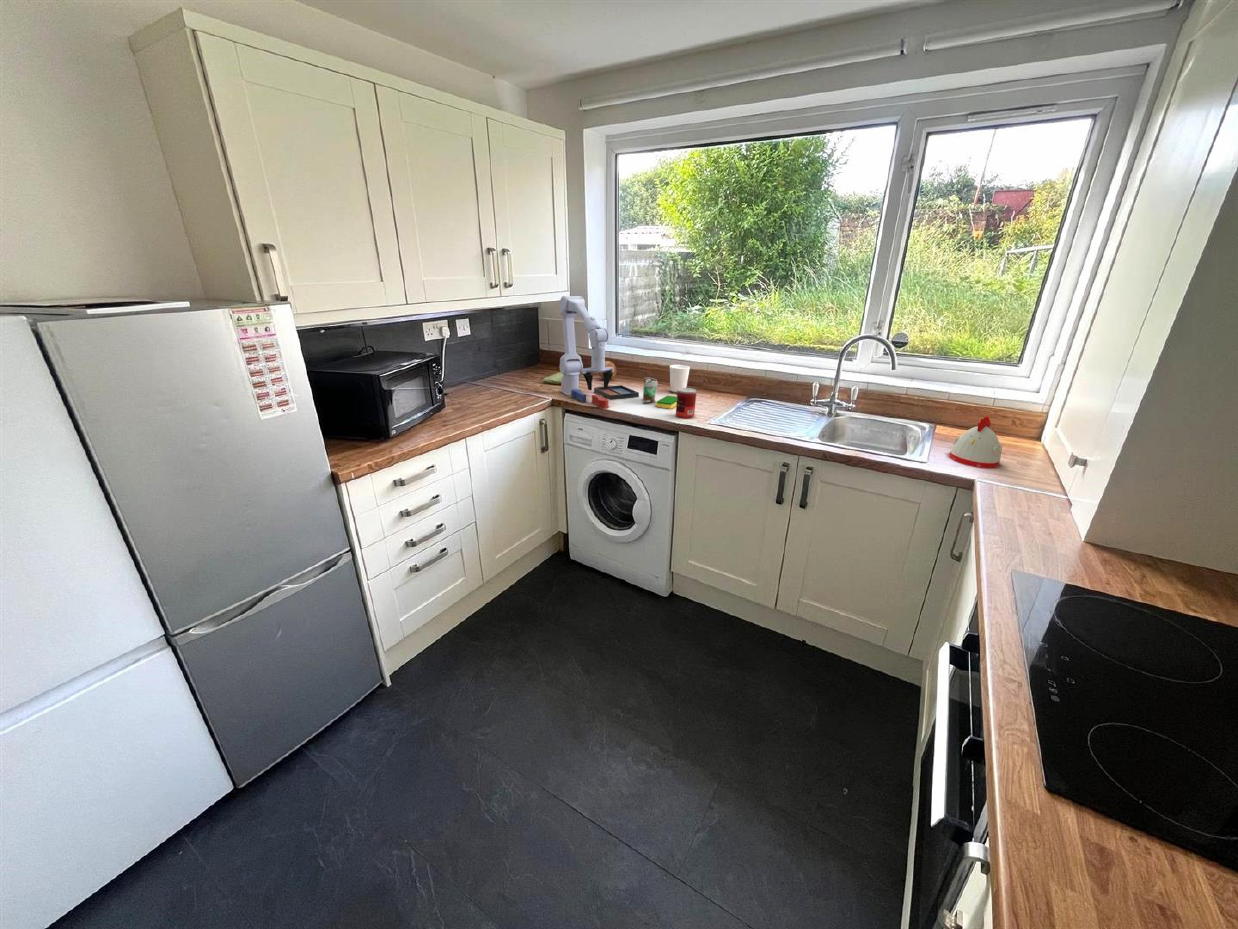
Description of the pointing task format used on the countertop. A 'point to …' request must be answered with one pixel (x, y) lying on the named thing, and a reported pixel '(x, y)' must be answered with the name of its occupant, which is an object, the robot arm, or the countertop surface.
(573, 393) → the blue rectangular block
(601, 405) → the red rectangular block
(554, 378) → the washcloth
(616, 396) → the tray
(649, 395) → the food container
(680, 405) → the canned food
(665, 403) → the dish sponge
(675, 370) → the cup
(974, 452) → the kitchen timer
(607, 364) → the onion
